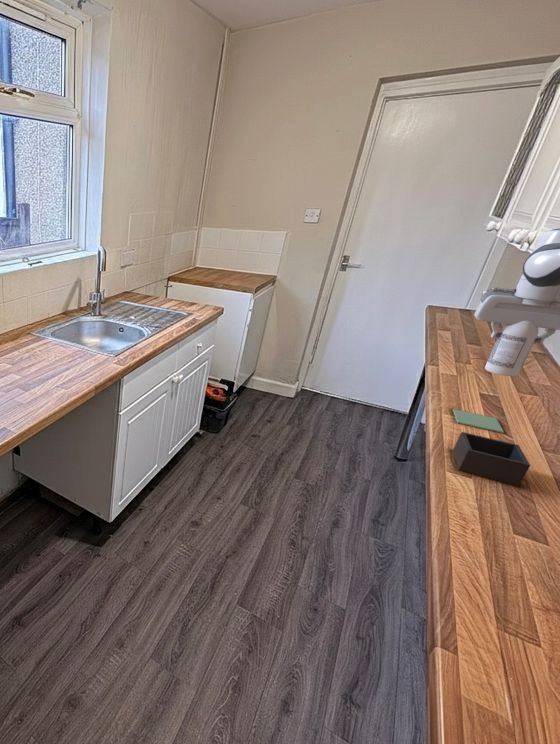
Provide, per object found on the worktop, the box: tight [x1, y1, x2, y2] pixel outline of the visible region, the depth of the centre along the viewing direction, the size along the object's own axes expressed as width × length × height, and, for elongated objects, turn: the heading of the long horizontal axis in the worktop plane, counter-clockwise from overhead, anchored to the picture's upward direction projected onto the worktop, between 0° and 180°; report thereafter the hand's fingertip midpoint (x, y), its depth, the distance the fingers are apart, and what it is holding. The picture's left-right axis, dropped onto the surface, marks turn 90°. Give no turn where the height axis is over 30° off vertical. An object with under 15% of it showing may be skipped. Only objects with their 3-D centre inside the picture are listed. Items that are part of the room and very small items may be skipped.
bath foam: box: [484, 321, 539, 377], centre depth 115 cm, size 7×7×20 cm
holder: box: [452, 431, 531, 487], centre depth 103 cm, size 11×11×6 cm
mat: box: [452, 408, 505, 434], centre depth 125 cm, size 10×10×1 cm
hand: (515, 340), depth 115 cm, fingers closed on bath foam, 7 cm apart
